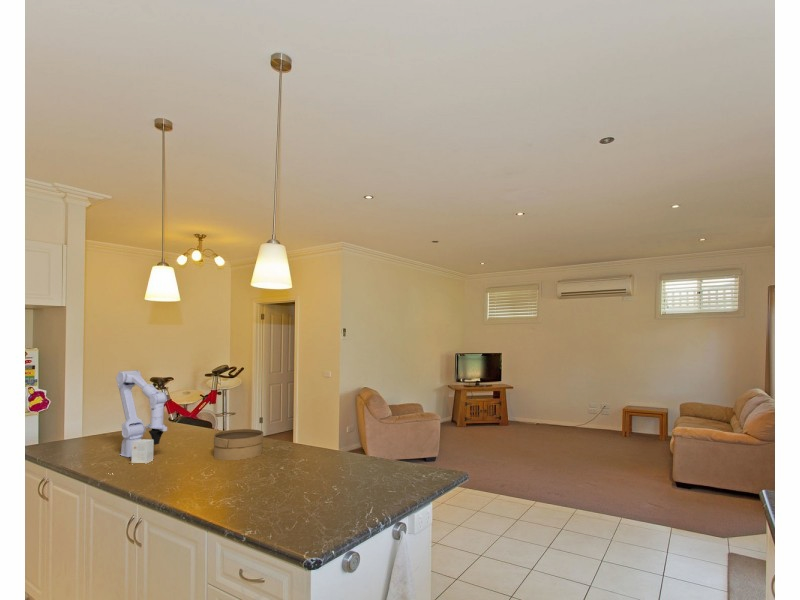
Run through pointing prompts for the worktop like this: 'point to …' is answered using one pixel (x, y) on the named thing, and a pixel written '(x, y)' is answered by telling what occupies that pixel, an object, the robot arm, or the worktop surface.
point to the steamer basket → (238, 444)
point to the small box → (142, 451)
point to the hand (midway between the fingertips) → (155, 444)
